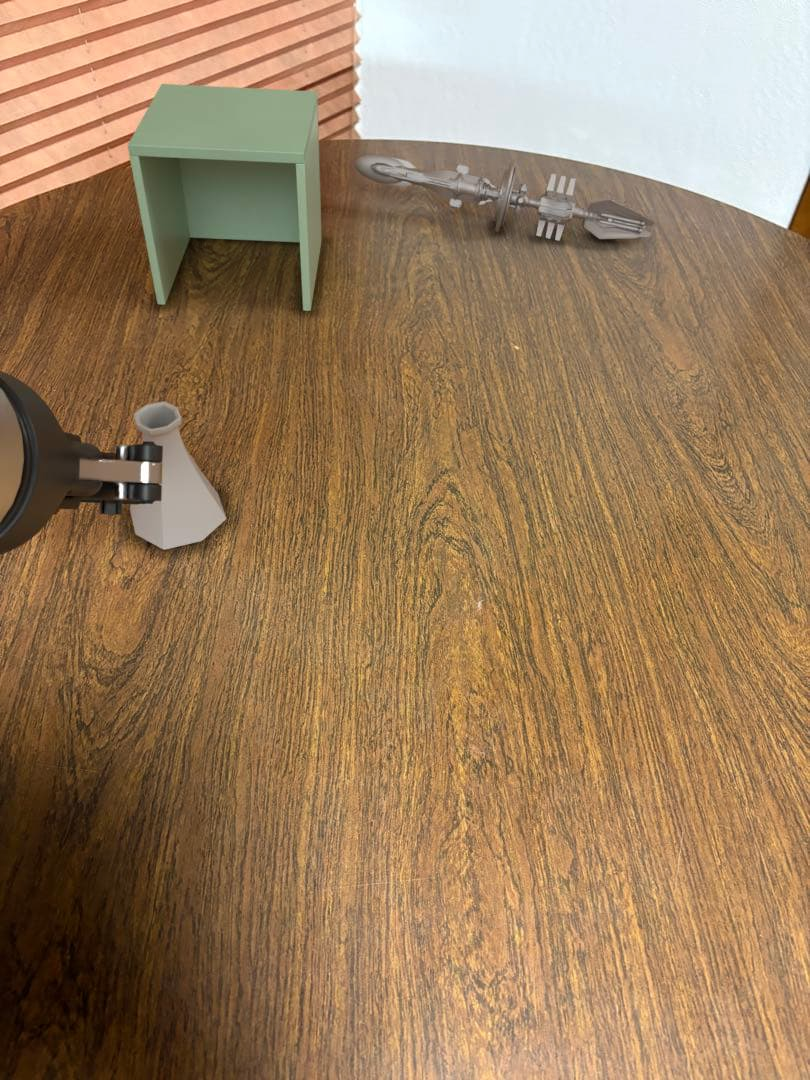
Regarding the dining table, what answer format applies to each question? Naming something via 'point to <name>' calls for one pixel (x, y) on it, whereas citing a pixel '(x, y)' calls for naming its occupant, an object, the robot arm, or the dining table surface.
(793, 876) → the dining table surface
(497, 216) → the spaceship
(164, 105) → the green open shelf box
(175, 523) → the flask
